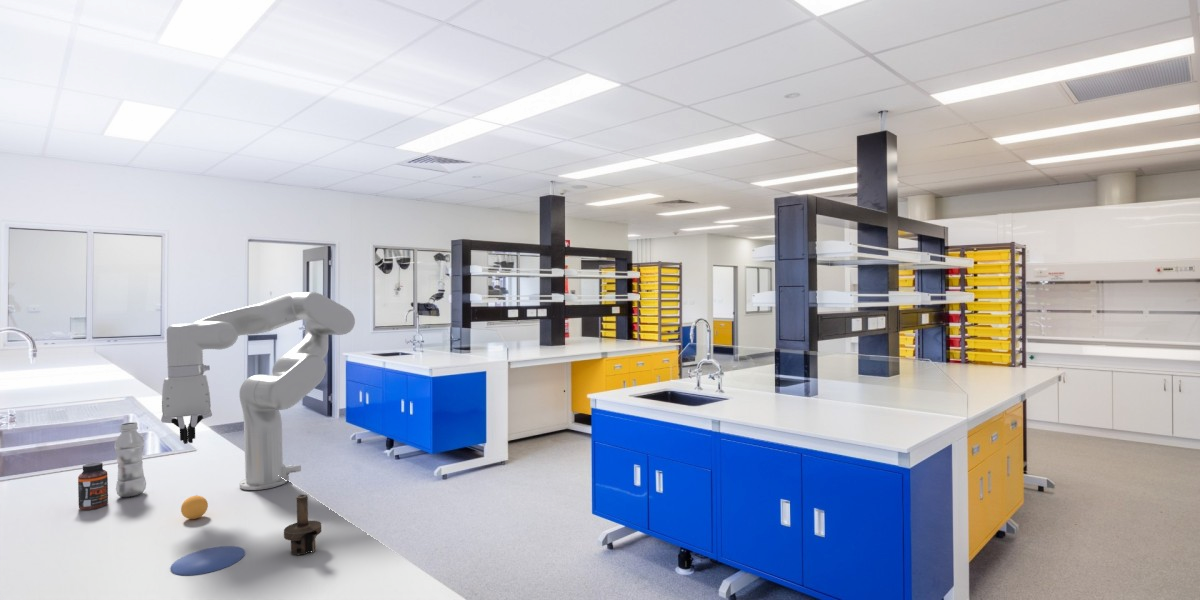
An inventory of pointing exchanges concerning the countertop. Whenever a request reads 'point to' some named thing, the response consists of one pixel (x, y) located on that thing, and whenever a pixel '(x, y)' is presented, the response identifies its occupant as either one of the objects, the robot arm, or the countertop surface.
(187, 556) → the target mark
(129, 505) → the countertop surface
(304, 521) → the industrial component
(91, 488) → the supplement bottle
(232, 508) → the countertop surface
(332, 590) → the countertop surface
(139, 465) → the plastic bottle
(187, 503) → the ball
